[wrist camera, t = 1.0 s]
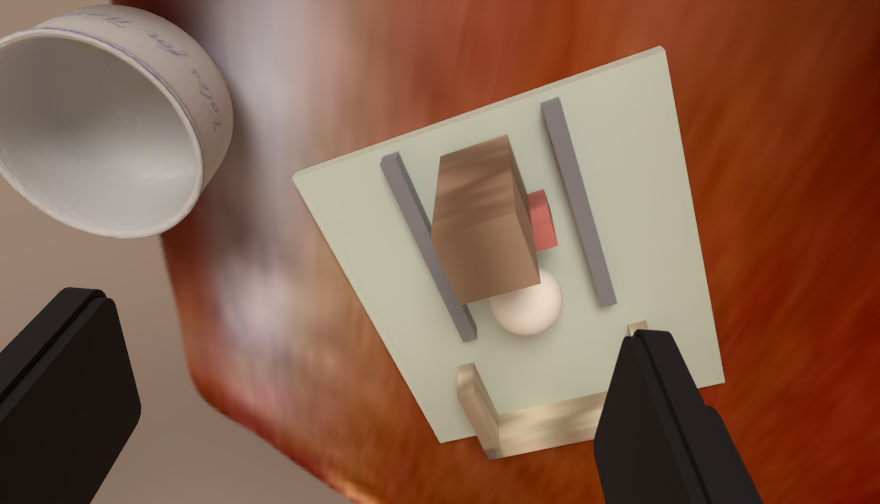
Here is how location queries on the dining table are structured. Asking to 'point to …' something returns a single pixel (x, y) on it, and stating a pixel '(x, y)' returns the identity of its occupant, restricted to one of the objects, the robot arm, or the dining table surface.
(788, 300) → the dining table surface
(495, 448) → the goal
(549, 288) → the ball
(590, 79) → the board
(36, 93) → the teacup
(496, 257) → the block
